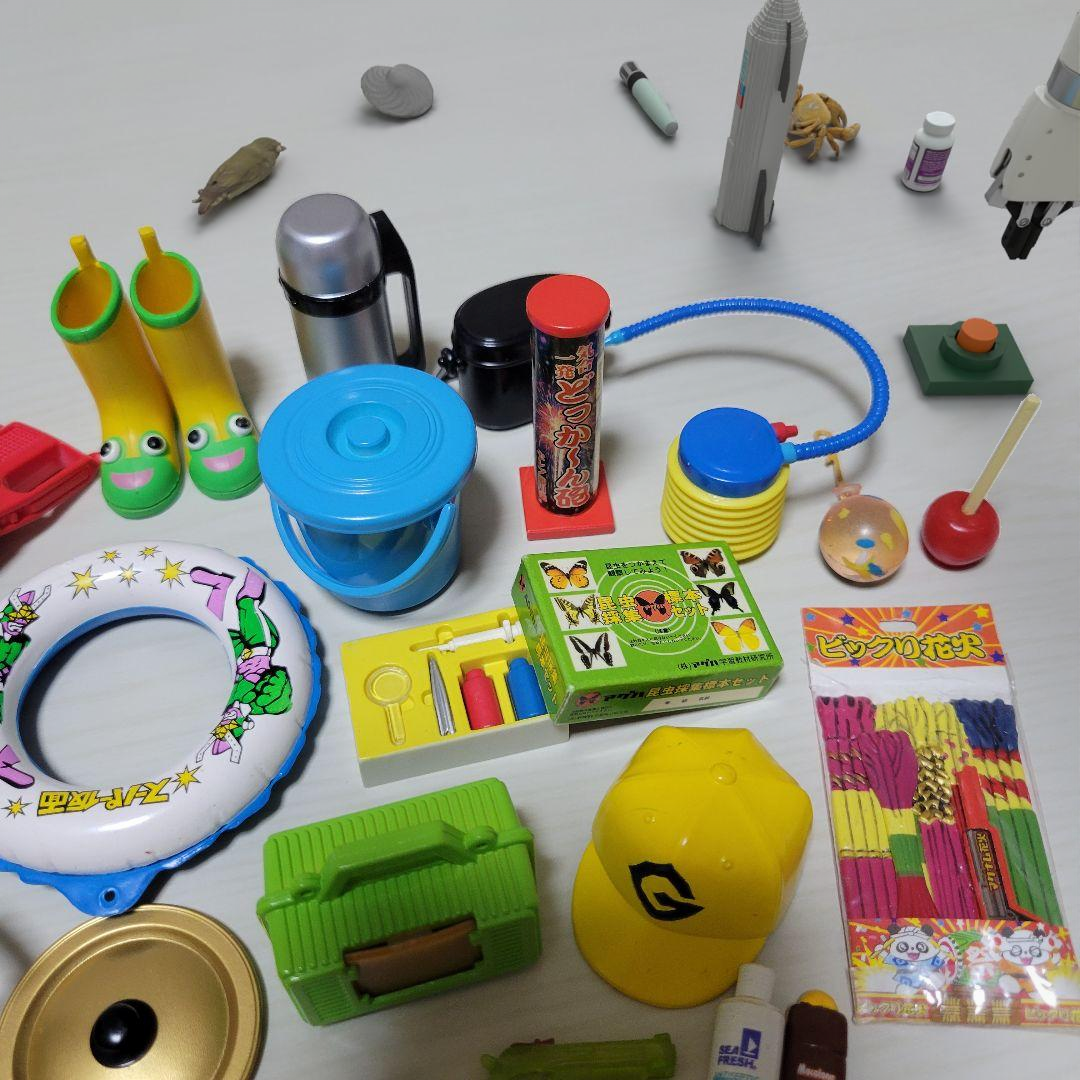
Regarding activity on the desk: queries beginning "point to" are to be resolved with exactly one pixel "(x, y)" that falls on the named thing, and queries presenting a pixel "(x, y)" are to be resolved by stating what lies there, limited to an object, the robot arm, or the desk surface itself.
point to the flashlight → (648, 97)
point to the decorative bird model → (239, 172)
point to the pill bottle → (929, 152)
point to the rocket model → (761, 117)
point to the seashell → (397, 90)
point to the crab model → (818, 121)
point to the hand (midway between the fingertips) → (1013, 251)
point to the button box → (965, 363)
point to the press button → (977, 335)
